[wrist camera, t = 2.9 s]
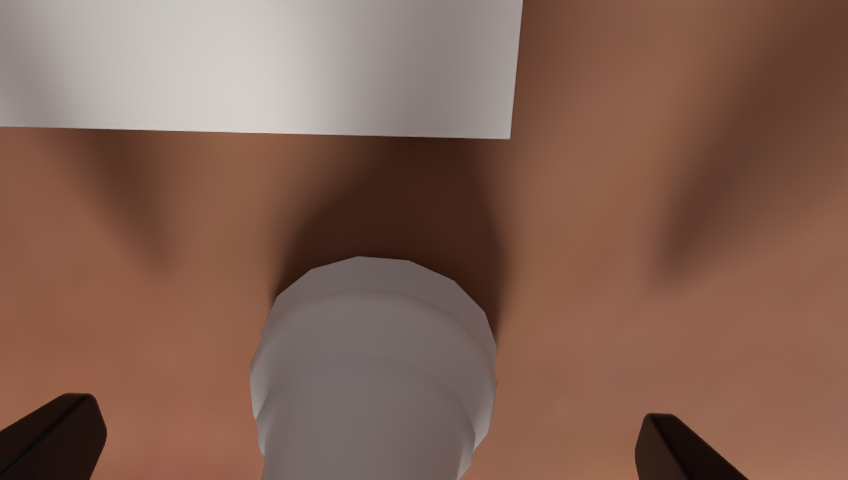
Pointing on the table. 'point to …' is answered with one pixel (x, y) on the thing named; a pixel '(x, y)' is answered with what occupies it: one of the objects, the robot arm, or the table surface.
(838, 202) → the table surface
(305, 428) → the rook chess piece
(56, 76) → the peg board
